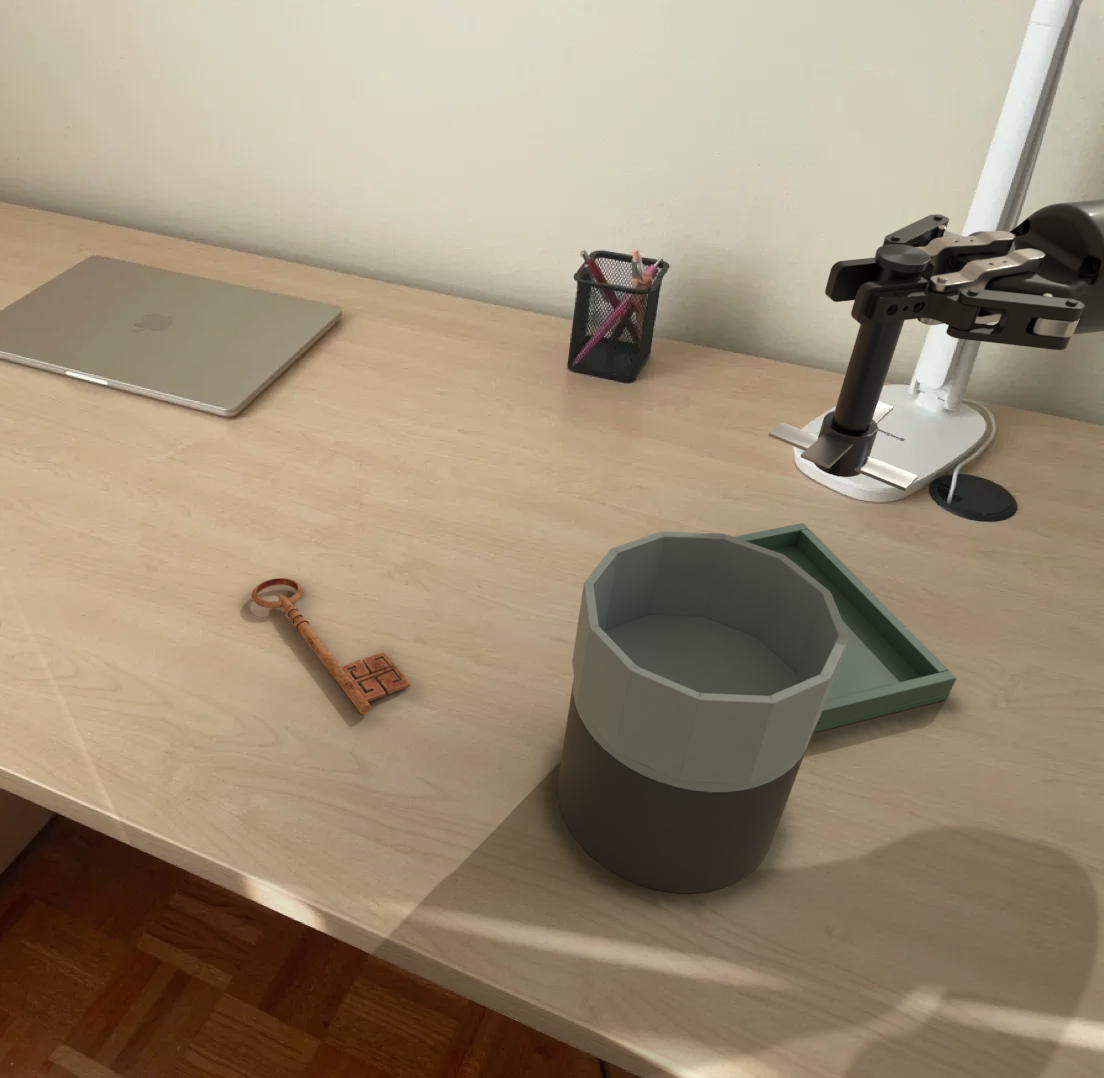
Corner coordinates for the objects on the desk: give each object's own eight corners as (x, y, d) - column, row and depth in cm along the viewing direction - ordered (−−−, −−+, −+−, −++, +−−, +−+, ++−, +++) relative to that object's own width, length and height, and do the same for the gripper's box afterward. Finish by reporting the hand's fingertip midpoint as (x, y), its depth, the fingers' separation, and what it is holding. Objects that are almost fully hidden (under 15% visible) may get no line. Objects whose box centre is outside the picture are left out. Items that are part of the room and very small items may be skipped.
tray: (947, 699, 71) (957, 677, 70) (768, 744, 68) (776, 722, 67) (797, 543, 84) (803, 522, 83) (642, 574, 81) (646, 553, 80)
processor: (821, 840, 62) (901, 648, 53) (643, 929, 58) (693, 738, 48) (681, 694, 72) (726, 508, 62) (517, 762, 67) (538, 573, 57)
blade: (938, 460, 67) (1018, 251, 58) (876, 524, 62) (954, 306, 53) (805, 409, 72) (860, 210, 63) (738, 465, 67) (788, 256, 58)
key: (413, 696, 72) (313, 572, 82) (415, 686, 71) (313, 562, 82) (338, 723, 69) (244, 592, 80) (339, 714, 69) (244, 583, 79)
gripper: (1060, 159, 65) (798, 183, 62) (1246, 251, 54) (939, 283, 52) (1016, 274, 69) (770, 300, 67) (1178, 379, 59) (894, 415, 56)
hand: (845, 293), depth 59 cm, fingers closed on blade
